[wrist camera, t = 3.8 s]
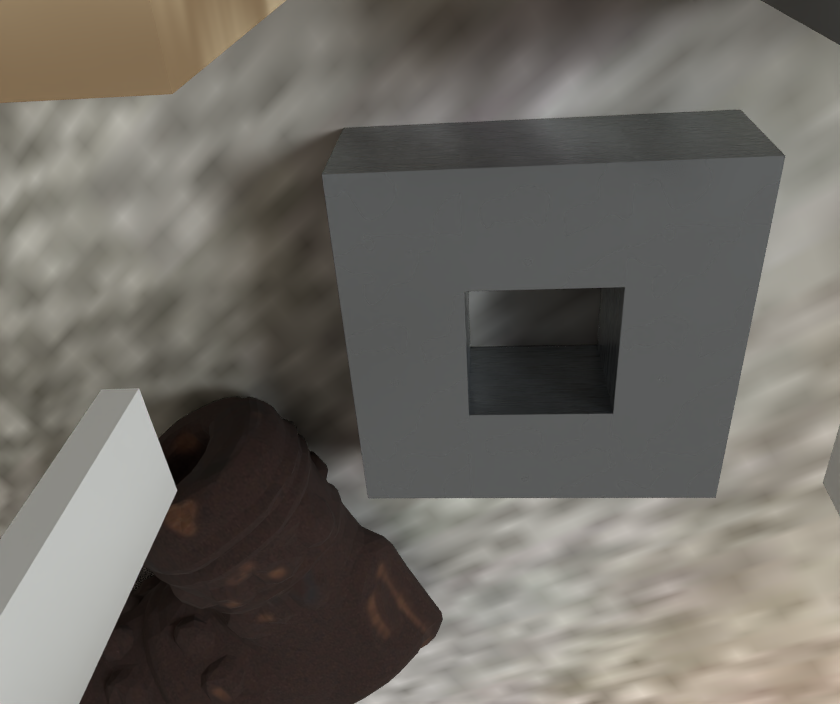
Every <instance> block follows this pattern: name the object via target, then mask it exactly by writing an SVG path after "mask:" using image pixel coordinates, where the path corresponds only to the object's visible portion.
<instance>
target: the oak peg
mask: <svg viewBox="0 0 840 704" xmlns="http://www.w3.org/2000/svg"><path fill="white" fill-rule="evenodd" d="M285 1H286V0H0V103H7V102H27V101H46V100H66V99H85V98H105V97H124V96H144V95H163V94H173V93H174V92H175V91H177V90H178V89H179V88H180V87H182V86H183V85H184V84H185V83H186V82H188V81H189V80H190V79H191V78H192V77H194V76H195V75H196V74H197V73H199V72H200V71H201V70H202V69H203V68H205V67H206V66H207V65H208V64H210V63H211V62H212V61H213V60H214V59H216V58H217V57H218V56H219V55H220V54H222V53H223V52H224V51H225V50H227V49H228V48H229V47H230V46H231V45H233V44H234V43H235V42H236V41H238V40H239V39H240V38H241V37H242V36H244V35H245V34H246V33H247V32H248V31H250V30H251V29H252V28H253V27H255V26H256V25H257V24H258V23H259V22H261V21H262V20H263V19H264V18H265V17H267V16H268V15H269V14H270V13H272V12H273V11H274V10H275V9H276V8H278V7H279V6H280V5H281V4H283V3H284V2H285Z"/></svg>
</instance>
